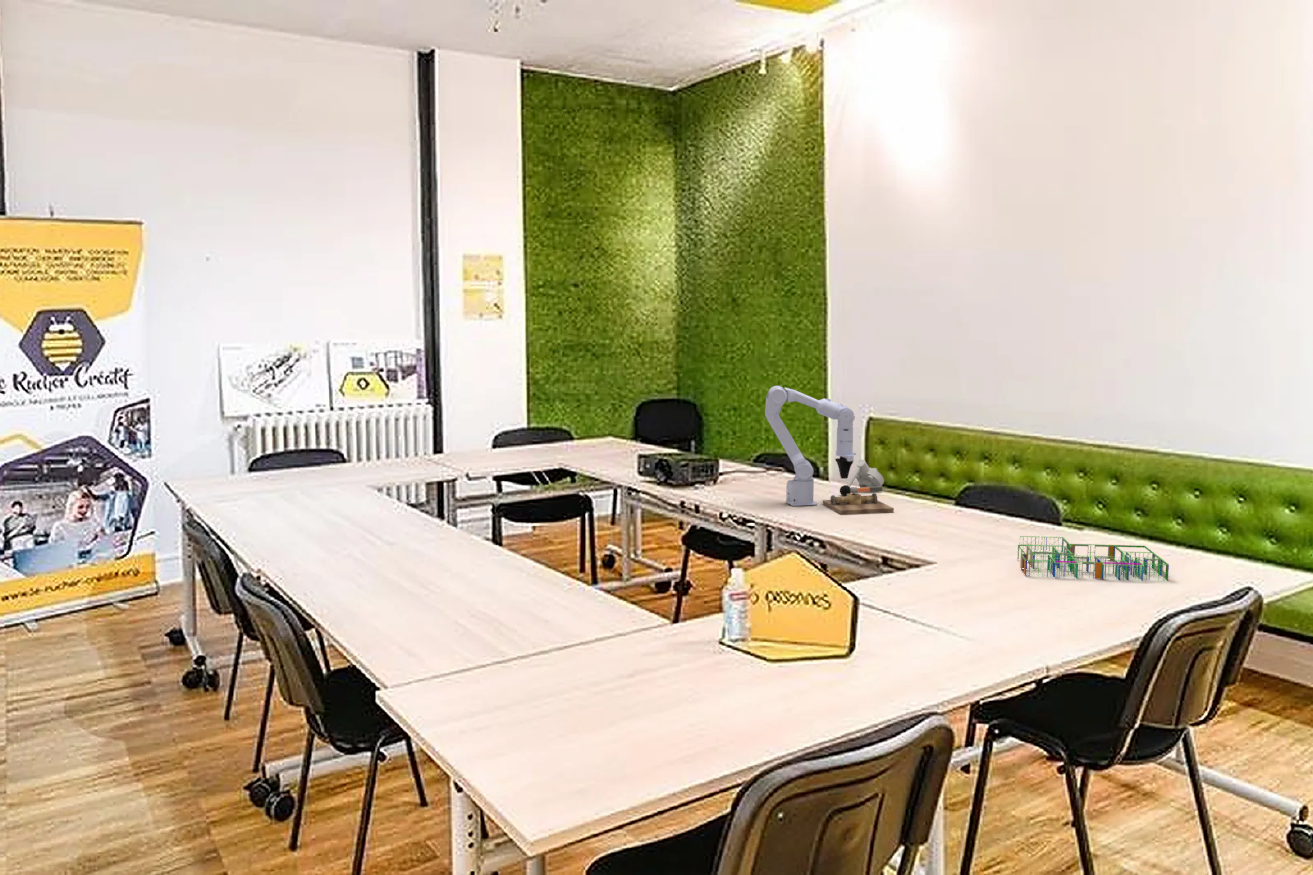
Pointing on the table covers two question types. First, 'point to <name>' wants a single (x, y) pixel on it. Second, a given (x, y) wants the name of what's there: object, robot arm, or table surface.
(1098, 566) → the house model
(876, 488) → the valve lever
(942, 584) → the table surface
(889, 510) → the valve board
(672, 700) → the table surface
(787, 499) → the robot arm
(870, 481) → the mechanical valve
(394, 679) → the table surface
